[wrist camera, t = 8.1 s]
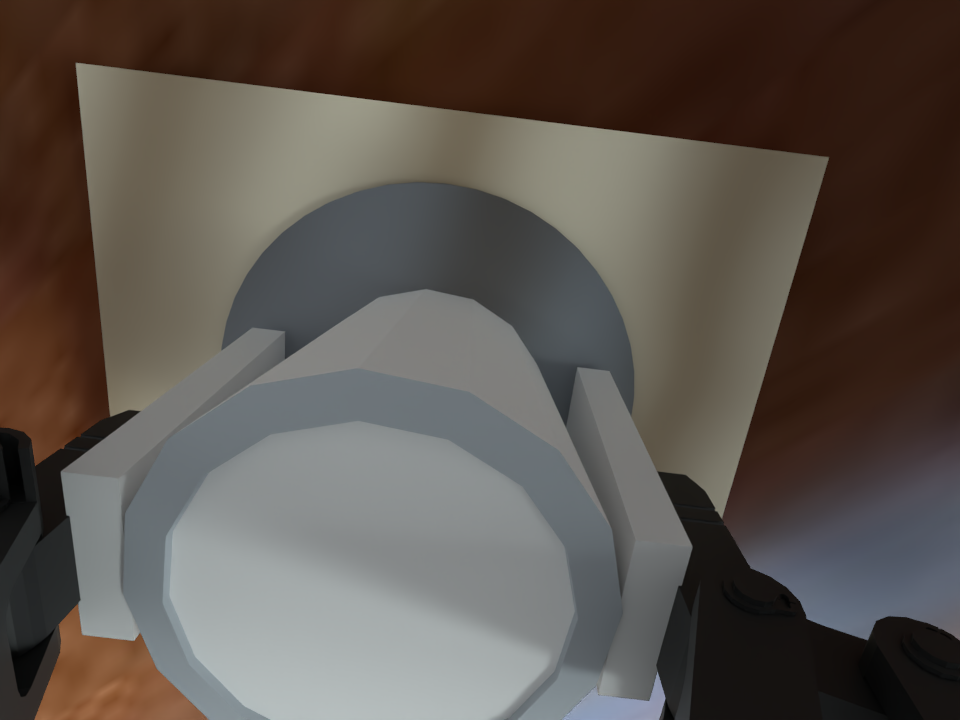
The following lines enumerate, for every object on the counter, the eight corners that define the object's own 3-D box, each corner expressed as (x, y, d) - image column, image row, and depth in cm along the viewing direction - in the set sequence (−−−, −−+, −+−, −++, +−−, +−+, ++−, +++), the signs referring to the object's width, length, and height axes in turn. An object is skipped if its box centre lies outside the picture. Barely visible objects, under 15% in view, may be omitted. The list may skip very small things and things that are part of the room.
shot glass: (298, 518, 16) (157, 780, 9) (273, 258, 14) (63, 364, 7) (560, 527, 16) (602, 800, 9) (579, 265, 14) (654, 380, 7)
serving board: (787, 155, 15) (836, 157, 13) (668, 587, 19) (690, 644, 17) (130, 72, 15) (65, 60, 12) (162, 527, 19) (118, 577, 17)
